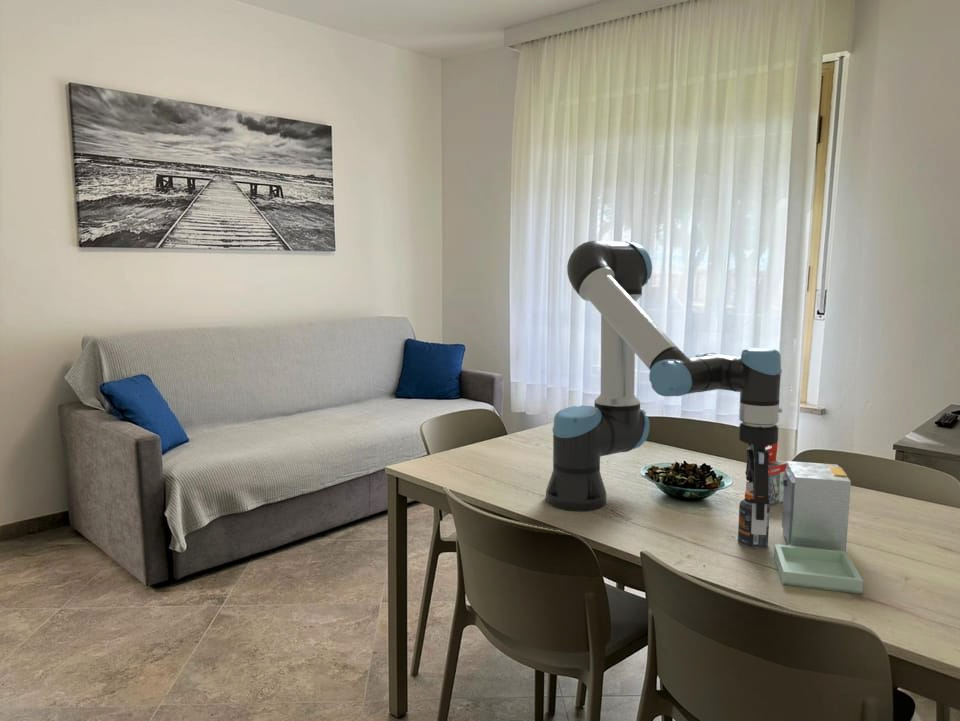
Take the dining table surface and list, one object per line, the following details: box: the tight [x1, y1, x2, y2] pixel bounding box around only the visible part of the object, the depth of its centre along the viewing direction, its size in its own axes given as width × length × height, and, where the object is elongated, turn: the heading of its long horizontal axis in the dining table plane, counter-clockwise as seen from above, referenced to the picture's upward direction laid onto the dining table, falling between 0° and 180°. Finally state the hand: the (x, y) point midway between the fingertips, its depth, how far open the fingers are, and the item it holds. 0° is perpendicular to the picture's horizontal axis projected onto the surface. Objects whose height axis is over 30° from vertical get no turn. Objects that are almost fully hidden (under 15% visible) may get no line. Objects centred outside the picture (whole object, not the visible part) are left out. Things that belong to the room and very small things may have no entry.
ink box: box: [765, 441, 787, 507], centre depth 165 cm, size 4×8×15 cm, turn 123°
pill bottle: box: [737, 489, 771, 549], centre depth 140 cm, size 6×6×11 cm
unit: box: [781, 460, 852, 552], centre depth 139 cm, size 11×12×16 cm
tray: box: [773, 543, 864, 595], centre depth 126 cm, size 13×13×2 cm
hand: (755, 522), depth 140 cm, fingers open, 13 cm apart
